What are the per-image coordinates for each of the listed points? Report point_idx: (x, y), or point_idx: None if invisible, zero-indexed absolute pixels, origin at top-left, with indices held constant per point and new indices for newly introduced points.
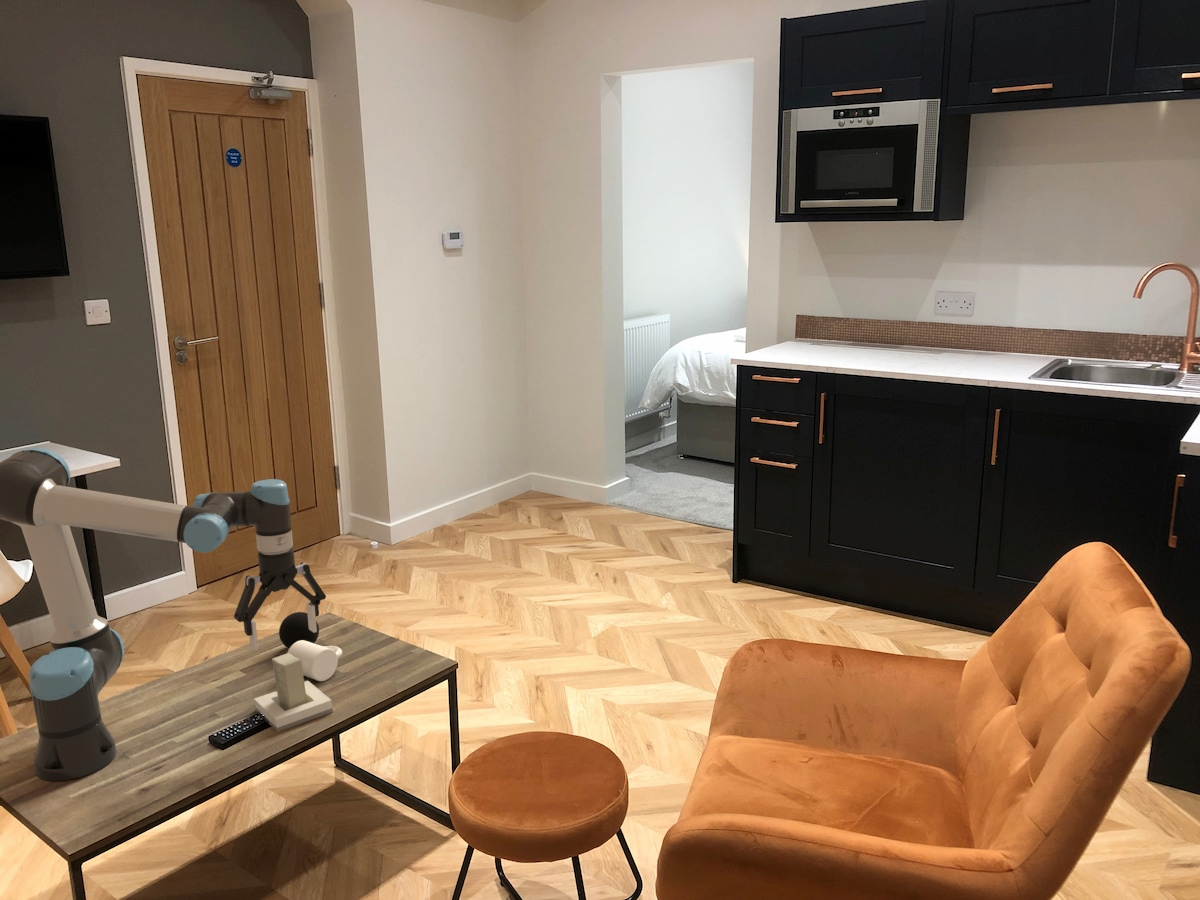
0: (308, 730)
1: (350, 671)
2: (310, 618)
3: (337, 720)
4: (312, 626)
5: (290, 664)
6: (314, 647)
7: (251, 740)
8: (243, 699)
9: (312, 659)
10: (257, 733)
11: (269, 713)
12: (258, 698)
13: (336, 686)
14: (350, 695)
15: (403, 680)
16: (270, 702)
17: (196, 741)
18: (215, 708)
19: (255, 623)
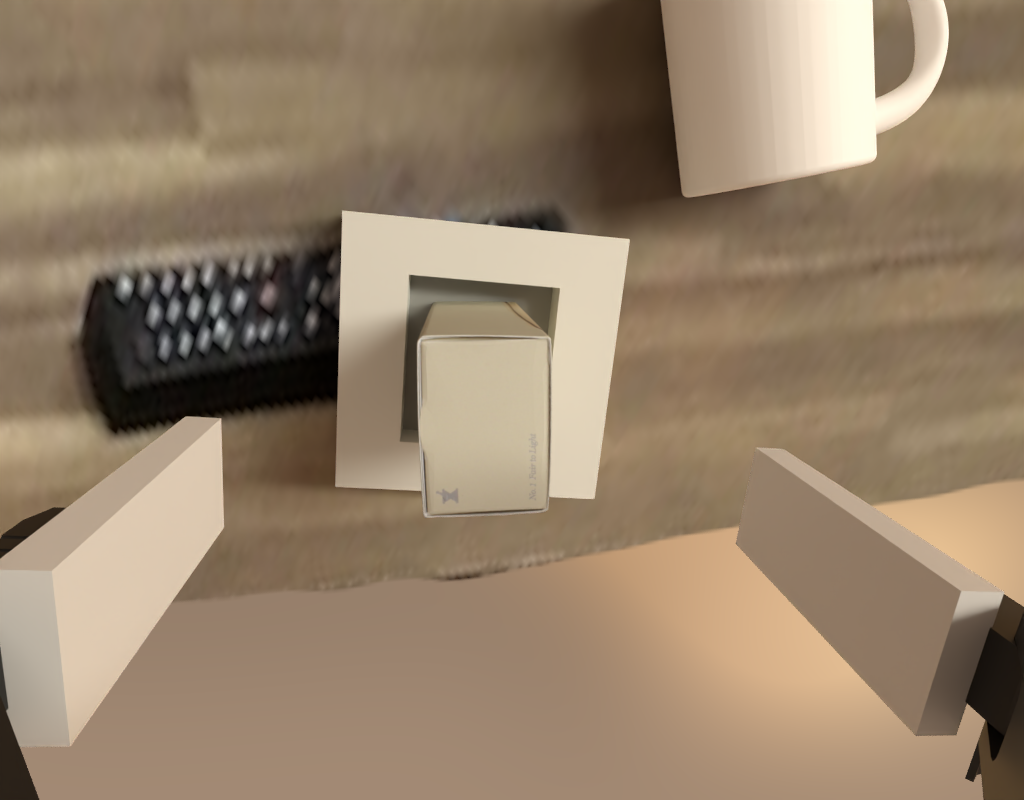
0: (441, 536)
1: (850, 196)
2: (813, 567)
3: (558, 545)
4: (765, 555)
5: (466, 514)
6: (816, 84)
7: (234, 449)
8: (355, 44)
9: (732, 170)
10: (276, 414)
11: (337, 412)
12: (360, 227)
13: (721, 284)
14: (708, 404)
15: (914, 449)
16: (387, 315)
17: (30, 281)
18: (205, 20)
19: (85, 718)
